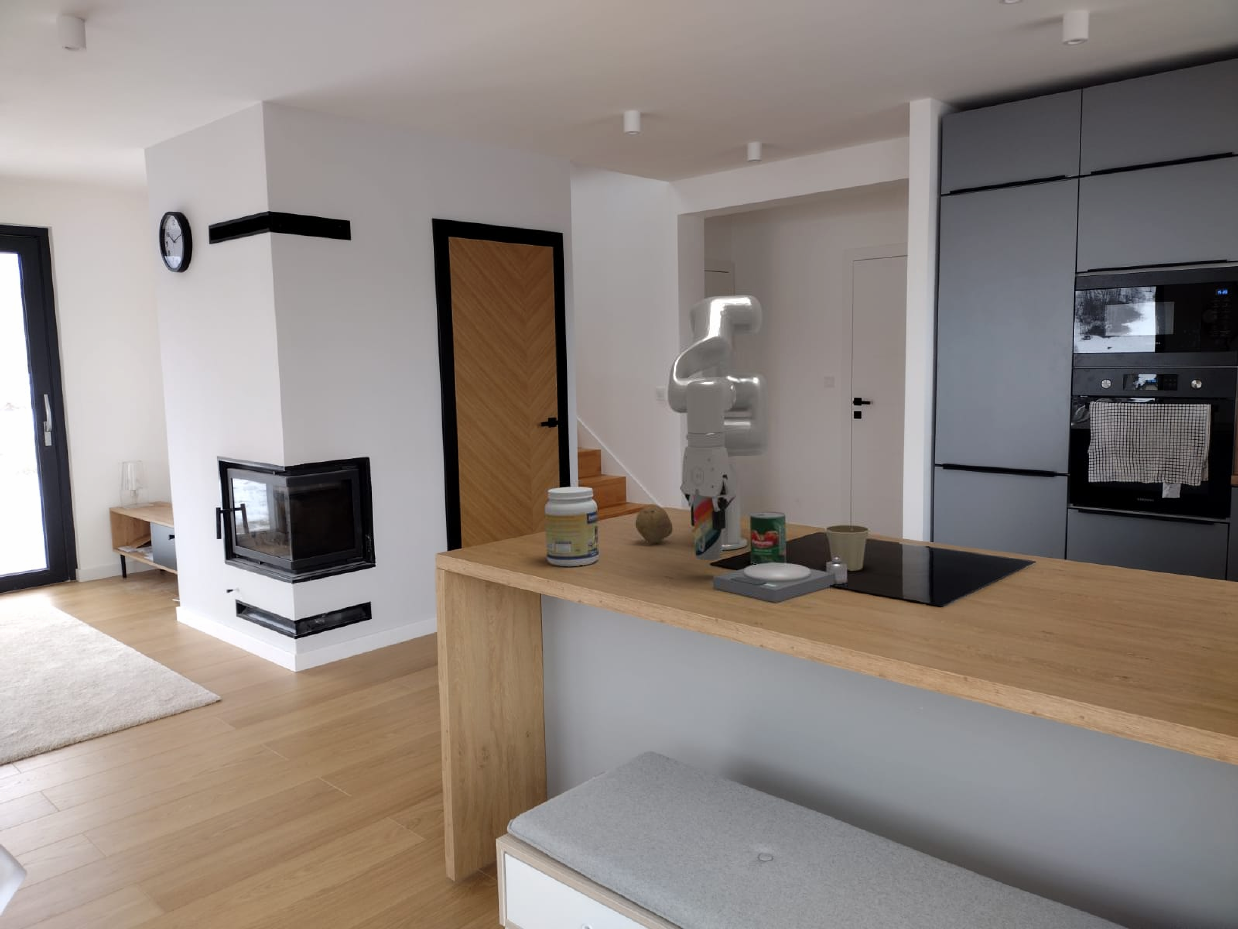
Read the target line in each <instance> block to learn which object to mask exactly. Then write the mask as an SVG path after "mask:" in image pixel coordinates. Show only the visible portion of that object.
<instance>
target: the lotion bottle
mask: <svg viewBox="0 0 1238 929" xmlns="http://www.w3.org/2000/svg"><path fill="white" fill-rule="evenodd" d="M718 501H719V503H720V498H718ZM693 508H694V526H693V528H694V533H693V535H694V554H695V555H694V556H695V558H696V559H698V560H702V561H712V560H713V561H714V560H718V559H721V558H722V557H723V550H722V529H720V530H713V524H712V511H715V509H714V506H713V502H712V498H708V497H703V496H701V495H699V490H698V489H696V490H695V495H693Z"/></svg>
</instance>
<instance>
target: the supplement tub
mask: <svg viewBox="0 0 1238 929" xmlns="http://www.w3.org/2000/svg"><path fill="white" fill-rule="evenodd" d="M593 492H594V490H593V488H592V487H586V486H566V487H565V486H564V487H556V488H551V489H548V491H547V499H548V500H549V501H547V503H545V505H544V515H545V516H544V519H545V521H544V522H545V540H546V541H545V543H546V547H545V548H546V560H547V562H548V564H551V565H552V566H557V567H558V566H559V567H580V565H582V566H589V565H591V564H593V563H595V562H596V561H597V560H598V559H599V555H600V548H599V530H598V529H599V528H598V527H599V526H598V525H599V522H598V505H597V502H596V501H595V500H594V499H592V498H593V497H594V493H593Z"/></svg>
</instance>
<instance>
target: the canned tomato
mask: <svg viewBox="0 0 1238 929" xmlns="http://www.w3.org/2000/svg"><path fill="white" fill-rule="evenodd" d="M786 516H787V515H786V513H785V512H780V511H772V510H771V511H770V510H769V511H755V512H751V513H749V526H750V529H749V530H750V535H749V536H750V563H751V564H752V563H753V564H752V565H754V564H764V563H769V562H776V563H787V542H786V541H787V540H786V538H787V536H786V534H787V533H786V529H787V528H786V524H787V522H786Z"/></svg>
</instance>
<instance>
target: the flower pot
mask: <svg viewBox="0 0 1238 929" xmlns="http://www.w3.org/2000/svg"><path fill="white" fill-rule="evenodd" d="M824 531H825V532H826V537H827V540H828V544H829V549H830V551H829V552H830V557H831V559H830V560H832V557H841V562H845V563H847V571H850V572H854V571H860V570H862V569H863V567H864V557H865V550H866V544H867V539H868V537H869V533H870V532H871V528H869V527H867V526H865V525H864V526H863V525H858V524H857V525H856V524H836V525H834V524H833V525H829V526H826V527H824Z"/></svg>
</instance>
